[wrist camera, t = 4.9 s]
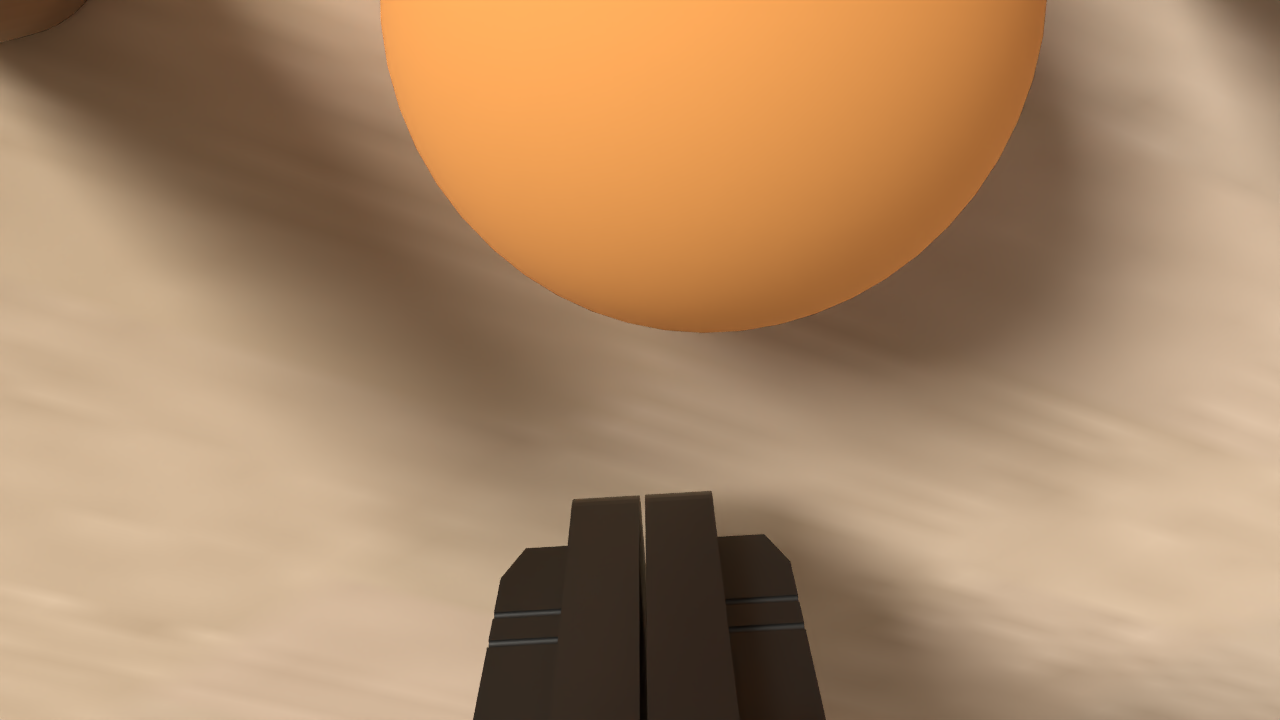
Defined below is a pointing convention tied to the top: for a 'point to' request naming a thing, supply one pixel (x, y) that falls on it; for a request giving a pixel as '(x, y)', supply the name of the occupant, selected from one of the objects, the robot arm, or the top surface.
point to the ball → (710, 140)
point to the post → (33, 16)
